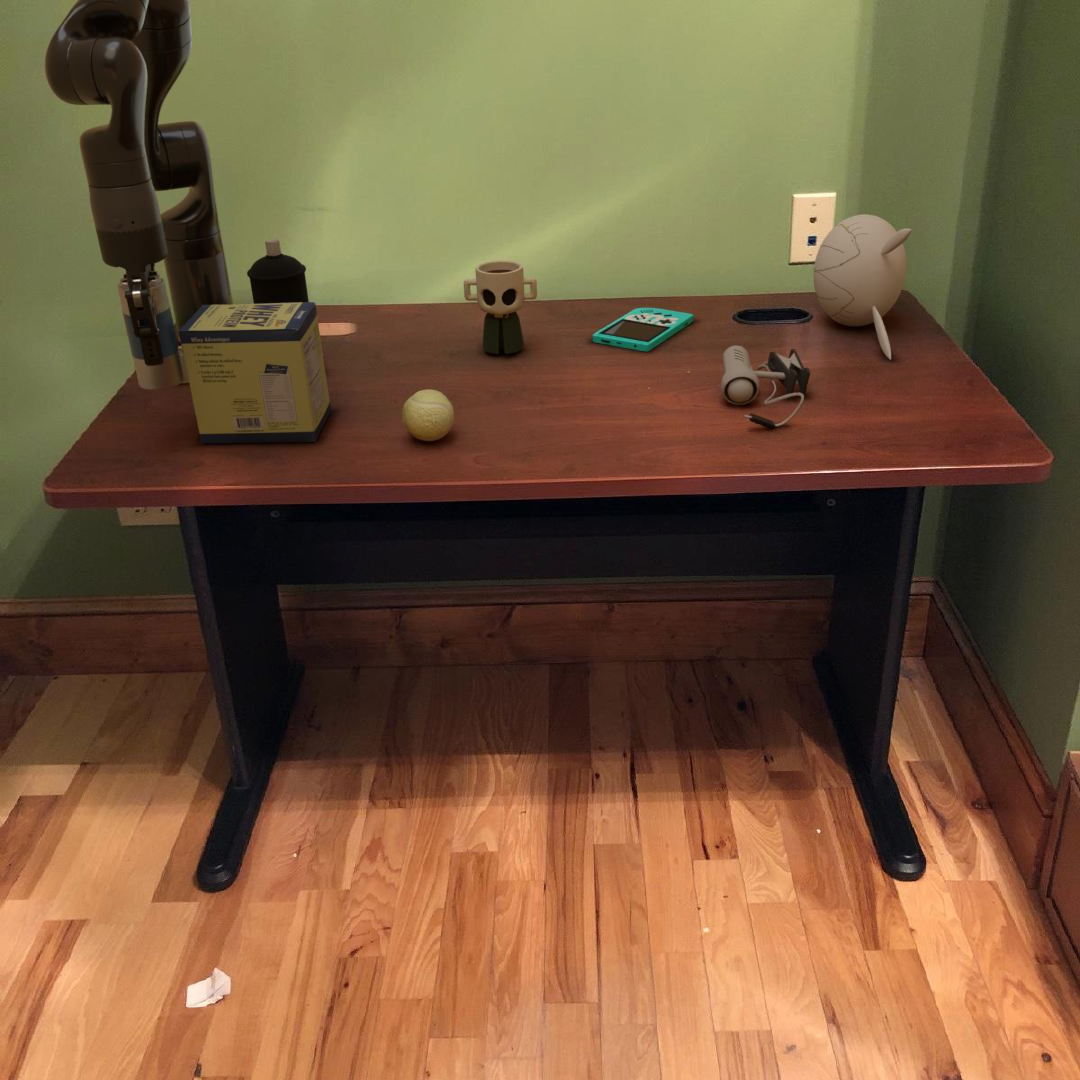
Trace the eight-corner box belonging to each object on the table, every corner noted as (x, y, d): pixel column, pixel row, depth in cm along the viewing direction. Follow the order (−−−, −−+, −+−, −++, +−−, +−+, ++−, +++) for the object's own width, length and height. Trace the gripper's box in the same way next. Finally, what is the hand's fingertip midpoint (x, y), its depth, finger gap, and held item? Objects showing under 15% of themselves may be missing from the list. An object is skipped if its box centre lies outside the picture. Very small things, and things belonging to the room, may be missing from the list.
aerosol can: (307, 387, 165) (288, 249, 155) (254, 384, 166) (232, 247, 156) (328, 366, 172) (310, 233, 162) (277, 364, 173) (256, 232, 163)
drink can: (139, 376, 147) (117, 273, 140) (184, 371, 148) (164, 269, 141) (137, 392, 142) (113, 287, 135) (183, 387, 143) (162, 282, 136)
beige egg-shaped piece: (804, 207, 181) (858, 225, 158) (889, 209, 182) (954, 227, 159) (791, 326, 188) (840, 360, 165) (872, 328, 189) (932, 361, 166)
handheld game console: (695, 321, 184) (695, 313, 183) (648, 352, 172) (648, 344, 171) (640, 312, 189) (640, 304, 188) (591, 342, 177) (591, 333, 176)
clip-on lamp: (813, 449, 148) (796, 370, 161) (824, 410, 143) (806, 332, 157) (723, 443, 148) (713, 365, 161) (731, 403, 143) (720, 326, 157)
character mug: (465, 359, 172) (459, 274, 166) (470, 343, 178) (464, 260, 172) (537, 358, 172) (534, 273, 165) (540, 341, 178) (537, 259, 171)
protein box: (220, 413, 157) (200, 303, 150) (332, 410, 157) (317, 300, 149) (198, 445, 148) (175, 330, 141) (317, 443, 148) (300, 327, 140)
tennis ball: (460, 445, 146) (457, 396, 142) (409, 453, 144) (404, 404, 141) (450, 426, 151) (446, 378, 148) (400, 433, 149) (395, 385, 146)
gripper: (158, 233, 129) (185, 373, 138) (163, 203, 141) (188, 333, 150) (88, 239, 128) (120, 380, 136) (100, 208, 140) (129, 339, 148)
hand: (156, 355), depth 143 cm, fingers closed on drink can, 5 cm apart
